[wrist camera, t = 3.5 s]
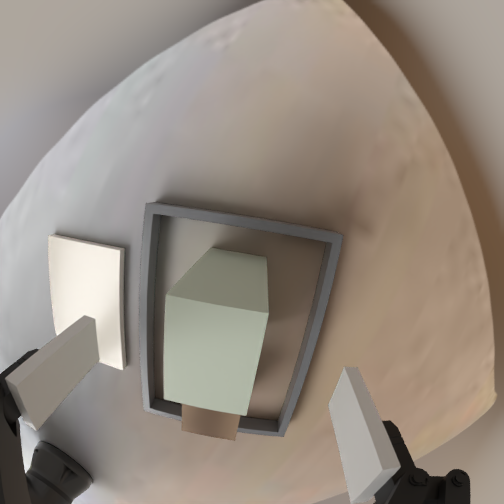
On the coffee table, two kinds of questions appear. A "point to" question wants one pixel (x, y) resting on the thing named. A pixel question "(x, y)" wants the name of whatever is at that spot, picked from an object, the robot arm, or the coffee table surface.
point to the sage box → (216, 331)
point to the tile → (89, 291)
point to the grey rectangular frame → (148, 294)
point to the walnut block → (209, 422)
